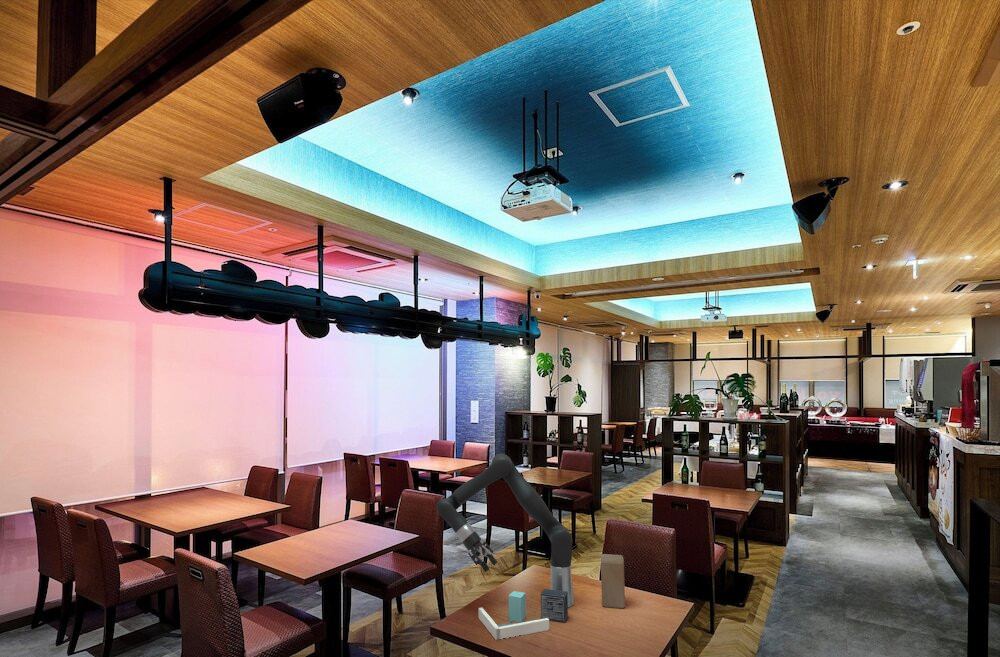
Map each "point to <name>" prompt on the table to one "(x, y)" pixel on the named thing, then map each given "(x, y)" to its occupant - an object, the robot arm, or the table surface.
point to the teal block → (517, 606)
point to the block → (612, 581)
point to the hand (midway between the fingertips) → (491, 567)
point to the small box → (554, 605)
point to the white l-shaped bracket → (512, 626)
